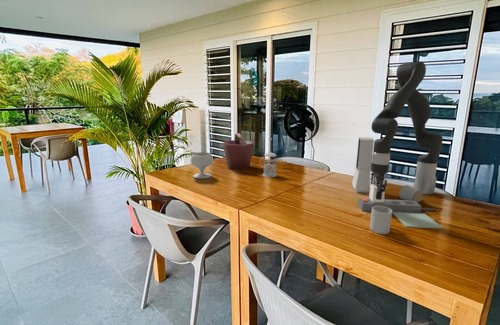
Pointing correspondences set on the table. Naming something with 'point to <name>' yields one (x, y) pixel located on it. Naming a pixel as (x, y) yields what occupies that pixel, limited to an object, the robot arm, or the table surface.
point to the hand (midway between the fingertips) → (376, 197)
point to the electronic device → (363, 165)
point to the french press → (267, 170)
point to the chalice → (201, 163)
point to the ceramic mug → (410, 193)
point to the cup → (380, 219)
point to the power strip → (393, 205)
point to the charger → (373, 194)
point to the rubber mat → (416, 220)
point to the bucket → (238, 153)
